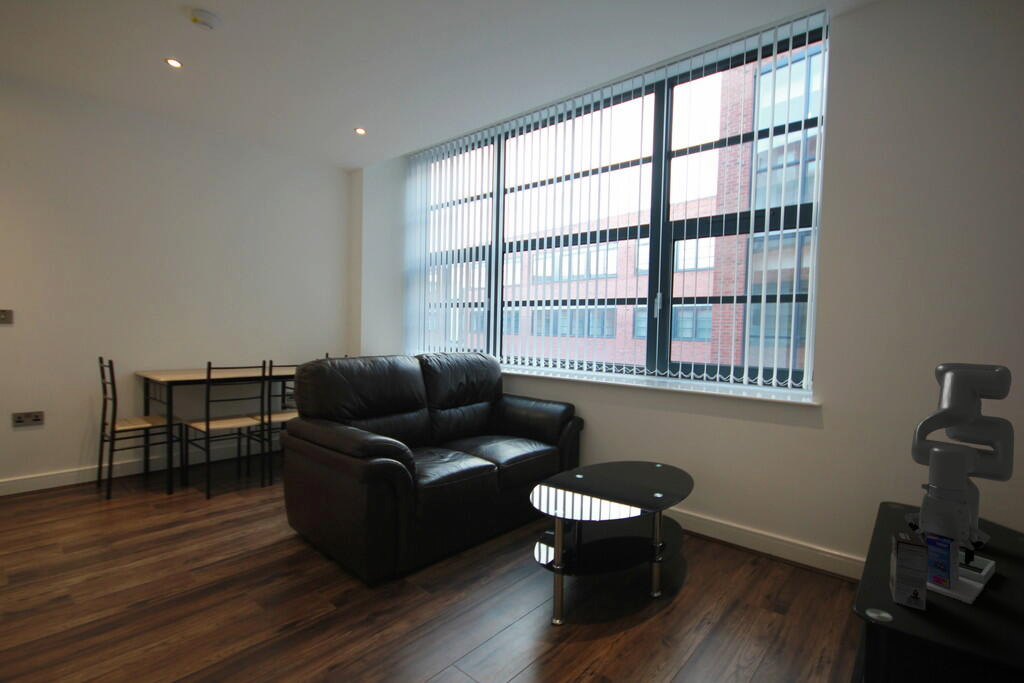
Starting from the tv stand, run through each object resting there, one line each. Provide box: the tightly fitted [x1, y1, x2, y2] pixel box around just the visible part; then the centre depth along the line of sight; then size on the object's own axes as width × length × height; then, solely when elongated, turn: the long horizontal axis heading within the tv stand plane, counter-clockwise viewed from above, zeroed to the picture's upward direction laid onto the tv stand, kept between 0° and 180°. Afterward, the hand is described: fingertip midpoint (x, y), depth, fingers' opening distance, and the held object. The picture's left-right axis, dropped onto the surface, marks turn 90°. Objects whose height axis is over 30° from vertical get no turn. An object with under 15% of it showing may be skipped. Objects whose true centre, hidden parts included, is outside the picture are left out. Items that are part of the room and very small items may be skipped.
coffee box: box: [889, 528, 929, 611], centre depth 121 cm, size 9×6×16 cm
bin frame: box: [959, 550, 996, 586], centre depth 139 cm, size 15×16×3 cm
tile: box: [926, 576, 985, 605], centre depth 129 cm, size 14×14×1 cm
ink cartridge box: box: [925, 533, 960, 589], centre depth 129 cm, size 10×6×14 cm, turn 127°
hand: (943, 555), depth 129 cm, fingers open, 9 cm apart
